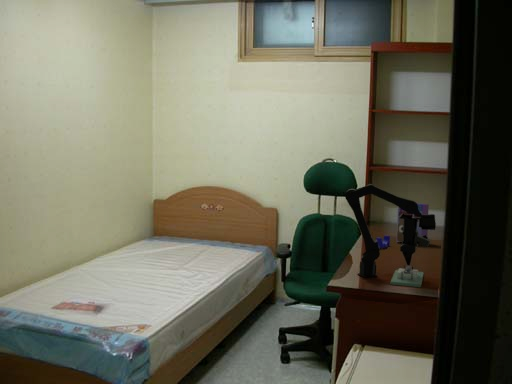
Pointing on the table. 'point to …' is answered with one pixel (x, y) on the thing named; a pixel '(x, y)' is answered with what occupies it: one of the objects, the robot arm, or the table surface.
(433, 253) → the table surface
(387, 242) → the cable clip
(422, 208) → the cereal box
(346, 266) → the table surface
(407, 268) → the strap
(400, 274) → the heat sink
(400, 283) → the circuit board
